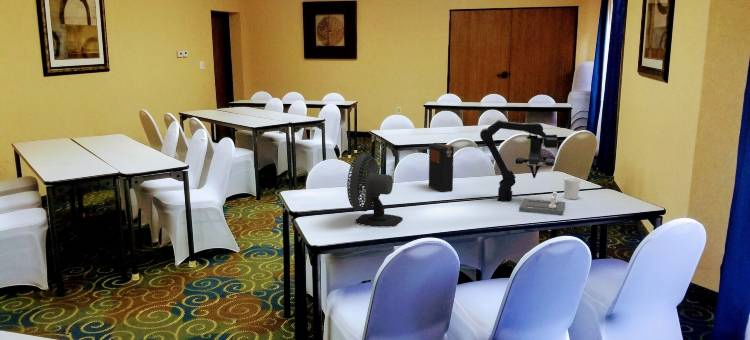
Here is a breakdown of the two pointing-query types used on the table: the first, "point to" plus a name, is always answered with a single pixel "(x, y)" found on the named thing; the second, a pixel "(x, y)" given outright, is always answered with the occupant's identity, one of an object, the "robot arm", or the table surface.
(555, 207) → the block
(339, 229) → the table surface
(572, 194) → the white cup
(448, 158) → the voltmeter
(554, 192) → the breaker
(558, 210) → the board
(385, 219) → the fan
